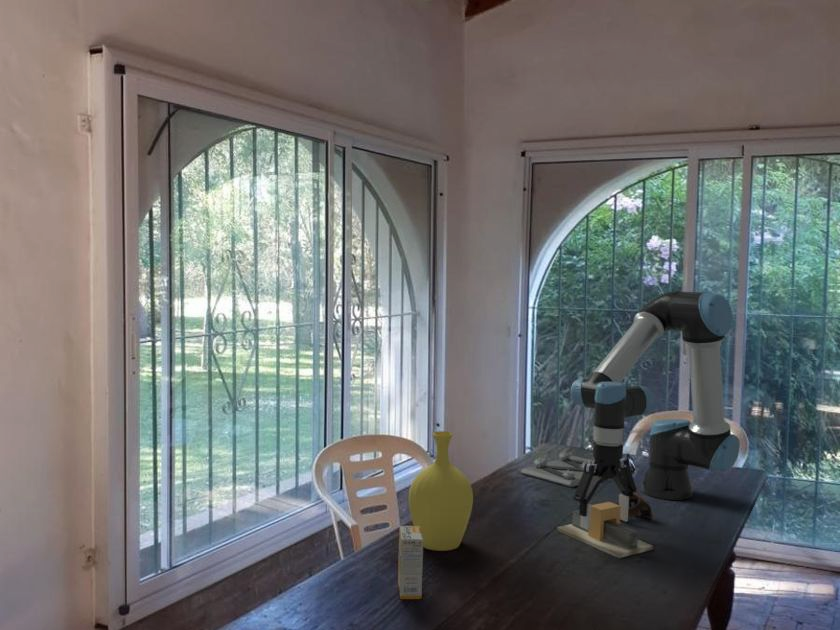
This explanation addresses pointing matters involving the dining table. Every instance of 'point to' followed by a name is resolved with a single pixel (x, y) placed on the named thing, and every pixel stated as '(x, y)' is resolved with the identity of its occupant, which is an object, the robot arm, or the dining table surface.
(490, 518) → the dining table surface
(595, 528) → the clip
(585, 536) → the rail block
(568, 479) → the decorative plate
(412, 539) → the supplement box
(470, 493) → the vase
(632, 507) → the pottery mug
